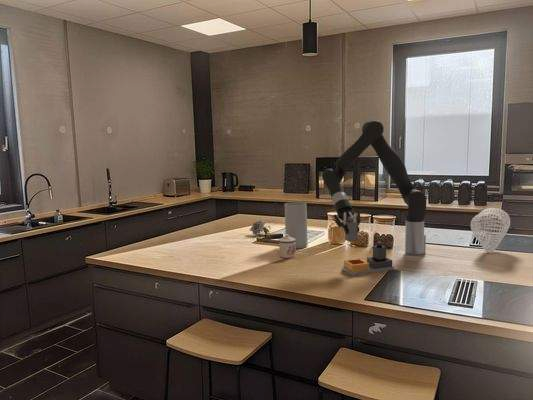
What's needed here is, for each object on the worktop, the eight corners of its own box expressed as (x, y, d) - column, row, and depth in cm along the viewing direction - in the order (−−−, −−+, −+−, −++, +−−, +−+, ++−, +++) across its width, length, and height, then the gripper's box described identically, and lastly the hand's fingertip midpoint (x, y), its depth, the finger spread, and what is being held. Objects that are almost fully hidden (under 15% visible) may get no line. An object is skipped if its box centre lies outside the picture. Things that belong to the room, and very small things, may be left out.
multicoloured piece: (383, 264, 203) (383, 239, 202) (394, 269, 195) (394, 243, 193) (342, 269, 198) (341, 243, 196) (350, 275, 189) (350, 248, 187)
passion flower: (256, 244, 275) (245, 229, 275) (264, 237, 284) (253, 223, 284) (267, 236, 268) (255, 221, 269) (275, 229, 277) (264, 215, 278)
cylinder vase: (307, 243, 249) (306, 201, 246) (307, 249, 237) (306, 205, 233) (286, 243, 250) (285, 202, 247) (285, 249, 238) (283, 205, 235)
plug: (353, 238, 200) (353, 216, 198) (357, 240, 196) (357, 217, 194) (344, 239, 199) (344, 216, 197) (348, 241, 195) (348, 218, 193)
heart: (501, 262, 199) (503, 216, 196) (466, 257, 209) (467, 213, 206) (511, 248, 221) (513, 207, 218) (478, 245, 231) (480, 205, 227)
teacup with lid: (289, 259, 218) (288, 237, 217) (275, 256, 224) (274, 235, 223) (302, 254, 227) (302, 232, 226) (289, 251, 233) (288, 231, 232)
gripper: (329, 199, 200) (341, 229, 190) (357, 197, 203) (369, 226, 193) (325, 209, 206) (336, 238, 196) (352, 206, 209) (364, 235, 199)
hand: (352, 232), depth 195 cm, fingers closed on plug, 4 cm apart
